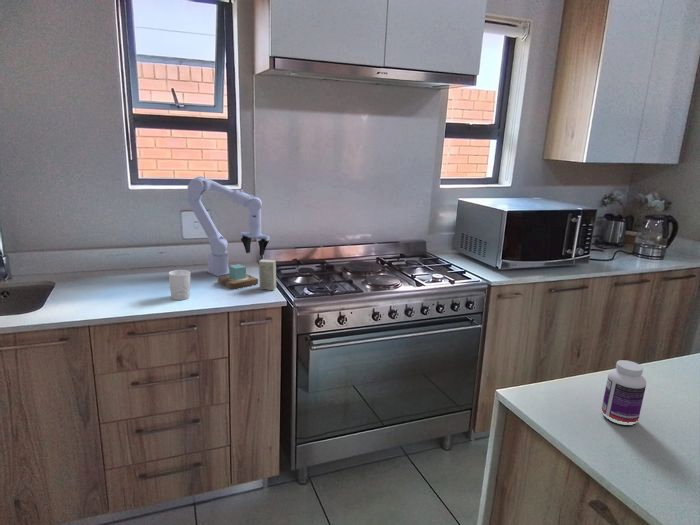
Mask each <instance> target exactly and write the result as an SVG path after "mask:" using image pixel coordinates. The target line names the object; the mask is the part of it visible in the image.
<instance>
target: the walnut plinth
mask: <svg viewBox="0 0 700 525" xmlns="http://www.w3.org/2000/svg"><path fill="white" fill-rule="evenodd" d="M217 278H218V280H217V282H218V284H221V285H223V286H225V287H227V288H229V289H231V290H233V291H235V290H240V289H243V287H244V288H248V287H247V286H249V287H252V285H254V286H257V285H256V284H258V285H259V279H258V278H256V277H254V276H252V275H250V274H247V273H246V278H244V279H239V280H234V279H232V278H230V277H229V274H226V275H221V276H217ZM239 288H240V289H239ZM234 289H235V290H234Z"/></svg>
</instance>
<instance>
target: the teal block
mask: <svg viewBox="0 0 700 525" xmlns="http://www.w3.org/2000/svg"><path fill="white" fill-rule="evenodd" d="M228 271H229V274H228V275H229V277H230V278H232V279H234V280H239V279H244V278H246V274H247V267H246V266H245V265H243V264H240V263H238V264H233V265H228Z"/></svg>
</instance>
